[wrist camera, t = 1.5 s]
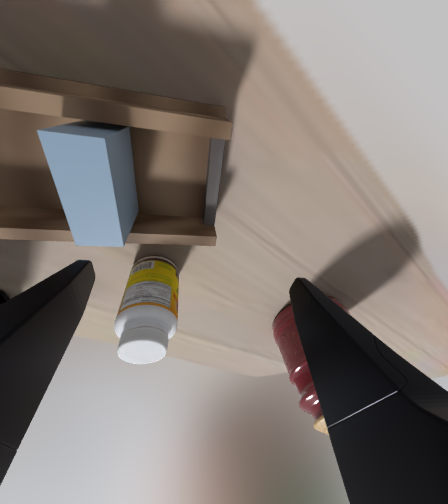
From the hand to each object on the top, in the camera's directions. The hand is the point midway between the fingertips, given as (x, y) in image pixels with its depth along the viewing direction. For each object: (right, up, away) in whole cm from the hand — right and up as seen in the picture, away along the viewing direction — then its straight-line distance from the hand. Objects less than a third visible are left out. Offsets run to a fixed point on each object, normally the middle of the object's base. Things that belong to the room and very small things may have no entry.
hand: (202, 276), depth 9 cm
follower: (-8, +8, +8) cm, 13 cm away
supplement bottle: (-7, -1, +16) cm, 18 cm away
